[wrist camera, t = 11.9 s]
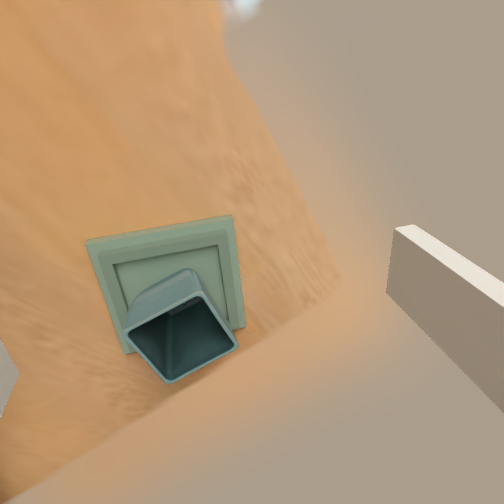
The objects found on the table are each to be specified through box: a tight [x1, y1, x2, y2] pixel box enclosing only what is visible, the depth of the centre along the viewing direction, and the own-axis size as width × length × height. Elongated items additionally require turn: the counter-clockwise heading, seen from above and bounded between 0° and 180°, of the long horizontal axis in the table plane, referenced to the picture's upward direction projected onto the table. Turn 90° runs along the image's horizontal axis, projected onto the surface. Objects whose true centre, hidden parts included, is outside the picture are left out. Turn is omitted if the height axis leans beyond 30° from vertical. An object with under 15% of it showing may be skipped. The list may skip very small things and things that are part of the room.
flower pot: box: [121, 268, 239, 384], centre depth 40 cm, size 9×9×9 cm
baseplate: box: [86, 215, 246, 355], centre depth 44 cm, size 16×16×2 cm
